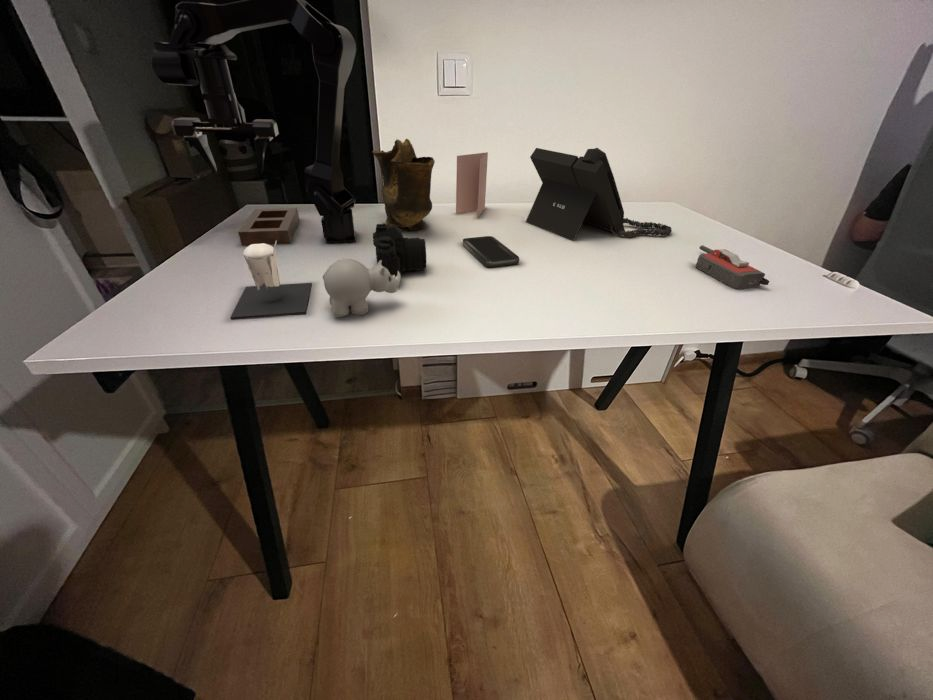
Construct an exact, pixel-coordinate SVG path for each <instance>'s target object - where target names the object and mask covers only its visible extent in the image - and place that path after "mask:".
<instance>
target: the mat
mask: <svg viewBox="0 0 933 700" xmlns="http://www.w3.org/2000/svg"><path fill="white" fill-rule="evenodd" d="M280 285H281V291H282V298H281V299H279V300H278V301H274V302H264V301H262V300H261V298H260V295H259V292H258V290H257V287H256V285H250V286H249V285H248V286H245V288H244V290H243V291H242V294H241V295H240V298H239V299H238V301H237V303H236V305H235V307H234V309H233V311H232V313H231V315H230V317H229V318H230V320H240V319H254V318H267V317H268V318H269V317H282V316H293V315H294V316H295V315H306V314H307V310H308V306H309V300H310V296H311V290H312V285H313V283H312V282H300V283H299V282H298V283H284V284H280Z"/></svg>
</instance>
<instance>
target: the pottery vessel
mask: <svg viewBox="0 0 933 700" xmlns="http://www.w3.org/2000/svg"><path fill="white" fill-rule="evenodd" d="M372 154H373V156H374V157H375V158H376V159H377V161H378V164H379V169H380V173H381V178H382V188H381V191H380V192H381V194H382V200H383V205H384V211H385V215H386V220H385V224H386V225H388V226H390V225H395V226H397V227H399V228H400V229H405V228H408V230H409V231H411V232H412V231H413V230H414V231H418V230H422V229H424V228H425V226H426V223H425V222H424V220H423V219H425V218H427V216H429V214H430V213H431V211H432V210H433V202H432V200H431V188H432V187H431V186H432V173H433V168H434V165H435V163H436V161H435V159H434V157H433V156H421V157H417V154H416V152H415V148H414V146H413V143H412V142H411V141H410V139H409V138H407V137H406V138H405V139H404V141H401V139H399V138H398V139H396V140H395V141H394V145H393V146H392V149H391V150H388V151H385V150H380V151H379V150H372Z"/></svg>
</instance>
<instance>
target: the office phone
mask: <svg viewBox="0 0 933 700" xmlns="http://www.w3.org/2000/svg"><path fill="white" fill-rule="evenodd" d="M531 153H532V154H531V155H530V157H529V158H530V160H531V162H532V165H533V166H534V168H535V171H536V173H537V175H538V177H539V179H540V181H541V186H540V188H539V189H538V192H537V195H536V196H535V199H534V202H533V204H532V206H531V209H530V211H529V213H528V215H527V217H526V219H525V222H526V223H528V224H530V225H533V226H535V227H538V228H540V229H543V230H546V231H548V232H551V233H553V234H555V235H558V236H560V237H563V238H566V239H568V240H570V241H573V242H574V241H575V240H576V237H577V235H578V233H579V231H580V229H581V227H582V225H583V223H586V224H589V225H591V226H595V227H597V228H600V229H603V230H606V231H608V232H612V234H613V235H614V236H620V237H623V238H630V237H632V238H634V237H638V236H649V235H650V236H659V235H660V236H663V237H664V236H665V235H666V236H669V235H670V234H671V233H672V227H671V226H668V225H667V224H663V223H661V222H658V223H656V222H653V221H649V222H648V221H645V222H644V221H643V222H640V221H638V220H634V219H633V220H631V219H629V218H628V217H626V218H625V211H624V207H623V204H622V203H623V202H622V200H621V196H620V193H619V190H618V187H617V182H616V180H615V176H614V173H613V170H612V168H611V166H610V165H611V164H610V162H609V159H608V156H607V153H606V152H605V151H603V150H601V149H600V148H599V147H595V148H587V150H586V151H585V153H584V155H583V156H578V155H575V154H569V153H565V152H559V151H554V150H550V149H545V148H539V147H535V149H534V150H533V151H532V152H531ZM625 224H626V225H627V224H628V226H633V227H635V228H637V229H632V230H627V231H626V230H625V226H624V225H625ZM639 228H640V229H639Z"/></svg>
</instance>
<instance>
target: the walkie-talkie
mask: <svg viewBox="0 0 933 700" xmlns="http://www.w3.org/2000/svg"><path fill="white" fill-rule="evenodd" d="M699 250H701V251H703V252H704V253H701V254H699V256H698V257H697V261H696V264H695V268H697V269H698V270H700V271H702V272H704V273H705V274H707V275H709V276H710V277H713V278H714V279H716V280H718V281H719V282H722V283H723V284H725V285H727V286H729V287H731V288H733V289H736V290H741V289H750V288H758V287H760V286H768V285H769V284H770V280H769V279H767V278H765V276H766V273H765V272H763V271H761V270H759V269H757V268H754V267H753V266H751V265H749V264H750V262H749V261H745V260H742V259H740V256H739V255H738V254H736V253H734V252H733V251H732V252H731V251H730V250H728V249H725V248H720V249H712V248H709V247H707V246H705V245H699Z"/></svg>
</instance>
